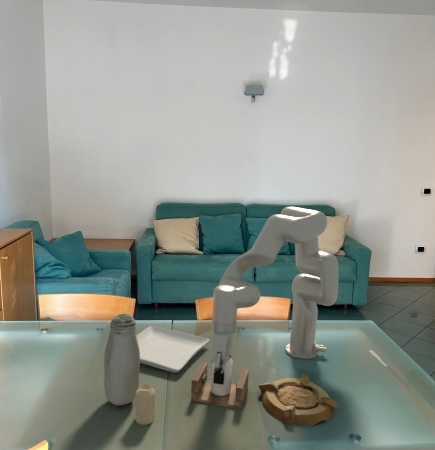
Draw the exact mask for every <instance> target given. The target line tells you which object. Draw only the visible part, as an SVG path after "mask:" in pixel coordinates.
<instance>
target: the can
mask: <svg viewBox="0 0 435 450" xmlns="http://www.w3.org/2000/svg"><path fill="white" fill-rule="evenodd" d="M232 357H233V356H232V355H231V354H230V356H229V358H228V360H227V363H226V364H224V370H223V372H224V384H223V385H221V384H215V383H213V379H214V367H215V361H214V363H212V362H211V378H210V380H211V392H212V393H213V394H214V395H216V396H226V395H228V394H229V393H230V391H231V383H232V377H233V363H234V362H233V358H232ZM215 360H216V359H215ZM220 362H222V363H223V361H222V360H221V361H220ZM220 367H221V368H222V365H221V364H220Z"/></svg>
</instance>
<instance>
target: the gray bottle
mask: <svg viewBox="0 0 435 450" xmlns="http://www.w3.org/2000/svg"><path fill="white" fill-rule="evenodd" d="M109 328H110V329H109V330H110V331H109V334H108V335H109V336H108V339H107V343H106V346H105V349H104V355H103V360H104V362H103V364H104V365H103V368H104V369H103V371H104V372H103V373H104V377H103V378H104V379H103V381H104V392H105V396H106V399H107V400H108V402H110V404H112V405H115V406H117V407H118V406H121V407H122V406H125V405H128V404H130V403H132V402H133V400H134V399H135V396H136V391H137V390H138V389H139V388H140V366H141V365H140V364H141V363H140V350H139V346H138V341H137V338H136V335H137V323H136V319H135V318H134V317H133V316H132V315H131V314H129V313H122V314H118V315H115V316H114V317H113V318H112V319H111V321H110V325H109Z"/></svg>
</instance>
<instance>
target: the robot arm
mask: <svg viewBox="0 0 435 450" xmlns="http://www.w3.org/2000/svg"><path fill="white" fill-rule="evenodd" d="M327 226H328V219H327V216H326V215H325V214H324V212H322V211H319V210H314V209H308V208H303V207H297V206H286V207H284V208H282V210H281V211H280V214H277V213H276V214H272V215H270V216H269V217H268V219H267V220H266V222H265V224H264V225H263V227H262V229H261V230H260V232H259V235H258V236H257V238H256V239H255V241H254V244H253V245H252V247H251V248H250V249H249V250H248V251H246V252H244V253H243V254H241V255H240V256H238V257H236V259H234V260H233V261H232V262H230V264H229V265H228V267H227V268H226V270H225V271H224V273H223V275H222V276H221V278H220V280H219V283H218V285H217V286H216V287H214V289H213V294H212V295H213V296H212V317H211V318H212V319H211V331H212V332H213V335H212V343H211V350H210V351H211V353H210V362H211V364H212V363H214V361H215V367H214V379H213V383H215V384H221V385H223V384H224V372H223V370H224V364H226V363H227V360H228V358H229V356H230V355H231V353H232V349H233V333H236V331H237V318H238V317H237V315H238V309H245V308H247V309H248V308H251V307H254V306H255V305H257V304H258V302H259V301H260V299H261V290H260V289H259V287H258V286H257V285H255V284H253V283H250V282H247V281H245V280H242V279H241V277H242V276H243V275H244V274H245V273H247V272H248V271H249V270H251V269H253V268H258V267H259V268H260V267H262V266H263V267H264V266H267V265H272V263H274V262H275V260H276V259H277V257H278V254H279V253H280V251H281V249H282V247H283V245H284V244H285V242H287V243H292V244H294V249H295V251H294V254H295V257H294V258H295V259H294V260H295V266H296V269H297V270H298V271H299V272H301V273H299V274H297V275H296V276H294V278H293V280H292V283H291V284H292V285H291V290H292V301H293V302H292V313H291V314H292V316H291V324H290V325H291V328H290V337H289V339H290V340H289V343H288V344H287V345H286V346H285V348H284V349H285V352H286V353H287V355H289V356H291V357H293V358H295V359H299V360H300V359H301V360H311V359H314V358H316V357H318V355H319V352H320V353H327V347H326V346H324V345H323V344H318V343H316V335H317V332H316V331H317V323H318V311H319V310H318V309H319V308H318V306H317V305H322V306H326V307H329V306H333V305H334V304H335V303H336V301H337V299H338V295H339V261H338V258H337V257H336V256H335V255H334V254H332V253H330V252H328V251H323V250H320V248H319V236H321V235H322V234H323V233H324V232H325V231H326V228H327ZM215 359H216V360H215ZM221 360H222V361H223V363H222V362H220V361H221ZM220 364H221V365H222V368H221V367H220Z"/></svg>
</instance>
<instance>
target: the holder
mask: <svg viewBox="0 0 435 450" xmlns="http://www.w3.org/2000/svg"><path fill="white" fill-rule="evenodd" d="M208 364H209V363H208V362H204V361H201V363H200V364H199V366H198V368H197V369H196V372H195V373H194V376H192V378H191V386H190V388H191V389H190V390H191V393H190V401H192V402H197V403H202V404H209V405H212V406H213V405H214V406H218V407H224V408H229V409H230V408H231V409H234V410H242V408H243V406H244V402H245V399H246V396H247V393H248V389H249V375H250V369H247V368H242V370H241V372H240V375H239V378H238V379H237V381H236V383H232V382H231V391H230V393H229V394H228V395H226V396H216V395H214V394H213V393H212V392H211V379H209V378H208Z"/></svg>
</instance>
